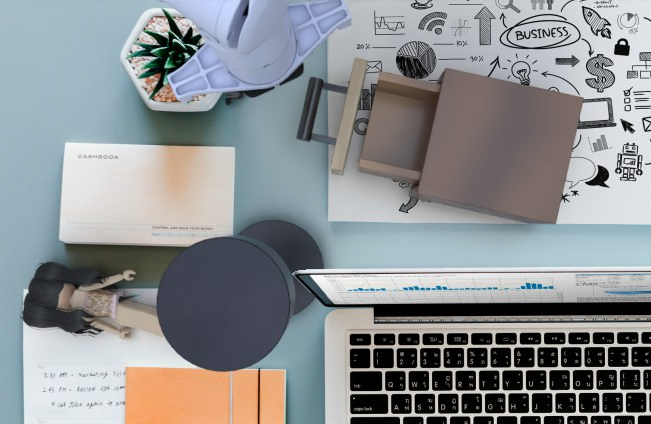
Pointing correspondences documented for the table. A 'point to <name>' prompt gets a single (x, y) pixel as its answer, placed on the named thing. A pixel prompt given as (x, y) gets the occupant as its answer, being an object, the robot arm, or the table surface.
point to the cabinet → (499, 148)
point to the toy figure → (84, 302)
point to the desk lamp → (235, 294)
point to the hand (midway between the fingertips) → (272, 74)
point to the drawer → (378, 123)
